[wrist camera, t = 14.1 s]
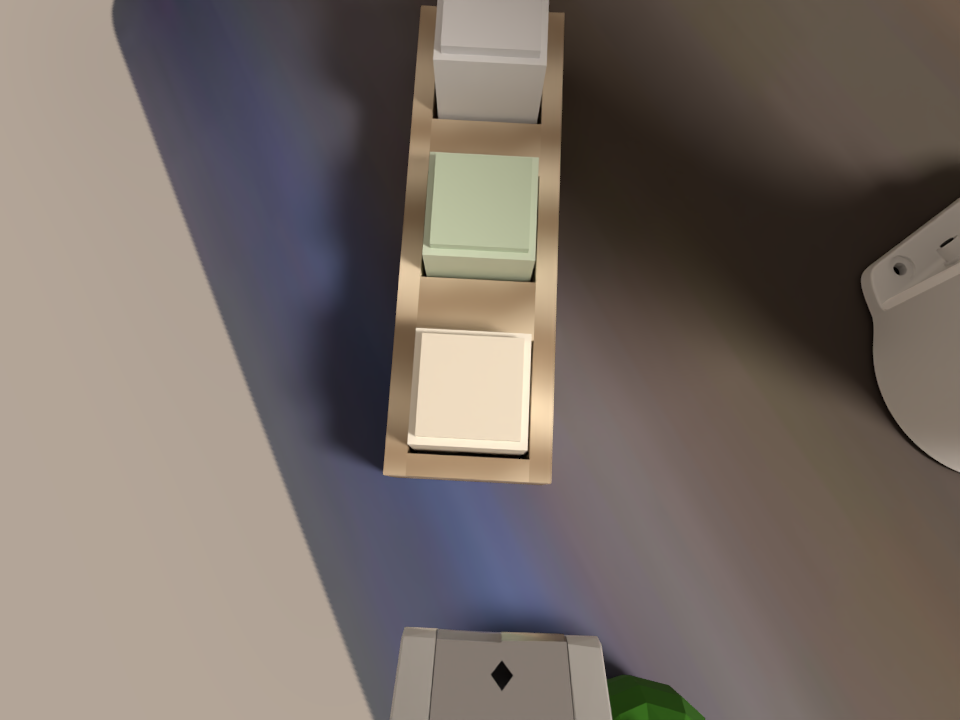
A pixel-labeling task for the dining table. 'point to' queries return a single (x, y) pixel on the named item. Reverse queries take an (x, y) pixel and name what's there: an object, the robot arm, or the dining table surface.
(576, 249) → the dining table surface
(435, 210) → the sage key
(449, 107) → the grey key
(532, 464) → the keypad housing
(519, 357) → the cream key
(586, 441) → the dining table surface
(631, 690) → the bell pepper
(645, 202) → the dining table surface
